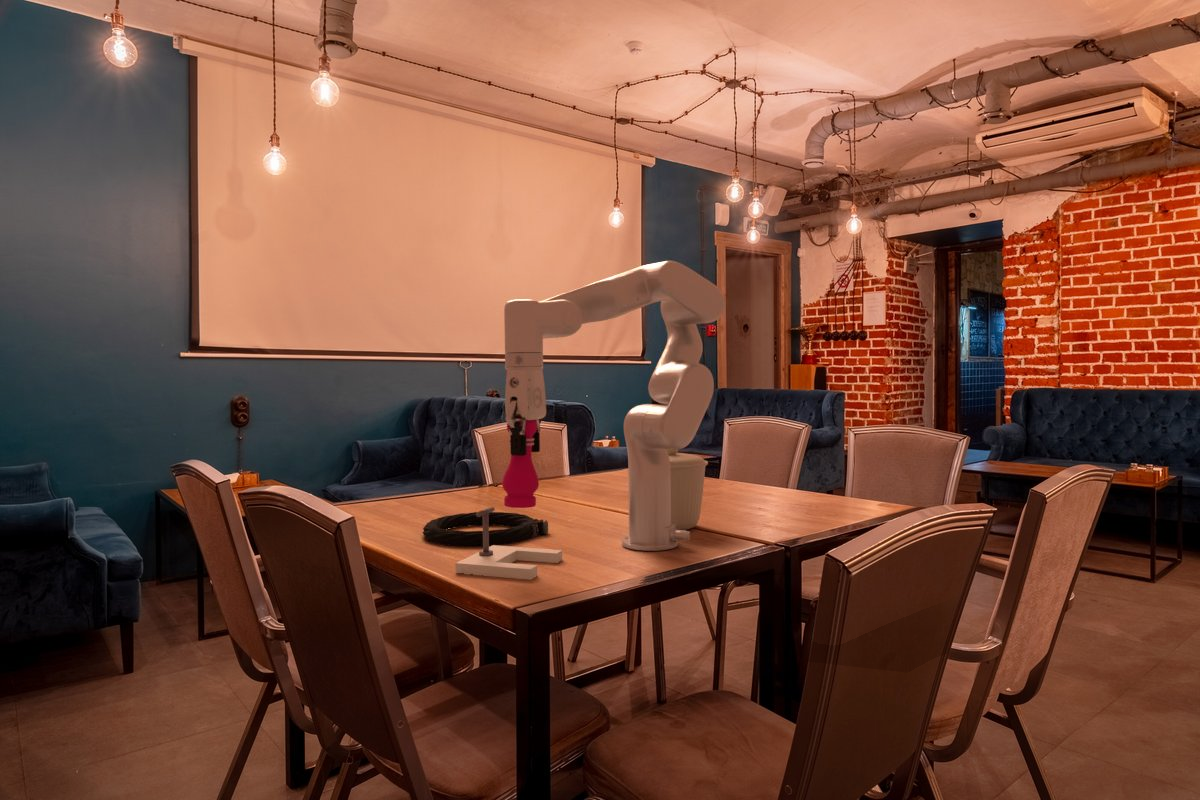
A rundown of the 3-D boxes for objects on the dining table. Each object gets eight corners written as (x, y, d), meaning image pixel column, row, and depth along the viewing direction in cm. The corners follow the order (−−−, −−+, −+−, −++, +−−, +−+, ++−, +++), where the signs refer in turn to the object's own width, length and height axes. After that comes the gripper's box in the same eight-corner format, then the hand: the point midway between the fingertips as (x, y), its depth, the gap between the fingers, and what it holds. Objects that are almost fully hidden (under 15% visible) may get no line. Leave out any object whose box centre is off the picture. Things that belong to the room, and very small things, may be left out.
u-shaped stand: (562, 559, 158) (561, 505, 158) (530, 579, 143) (530, 520, 143) (493, 554, 163) (492, 502, 163) (455, 573, 148) (454, 515, 148)
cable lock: (437, 510, 198) (552, 509, 197) (437, 525, 198) (552, 524, 197) (408, 532, 170) (542, 531, 170) (408, 549, 171) (542, 549, 170)
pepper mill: (498, 503, 154) (501, 404, 154) (533, 502, 156) (536, 405, 156) (505, 508, 147) (508, 405, 147) (541, 508, 149) (544, 406, 149)
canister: (674, 517, 203) (673, 438, 202) (723, 528, 189) (723, 443, 188) (621, 525, 192) (620, 442, 192) (668, 538, 178) (668, 448, 177)
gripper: (523, 361, 141) (524, 459, 142) (558, 362, 158) (559, 449, 158) (487, 362, 144) (488, 457, 144) (524, 363, 160) (526, 448, 161)
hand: (525, 452), depth 151 cm, fingers closed on pepper mill, 5 cm apart
